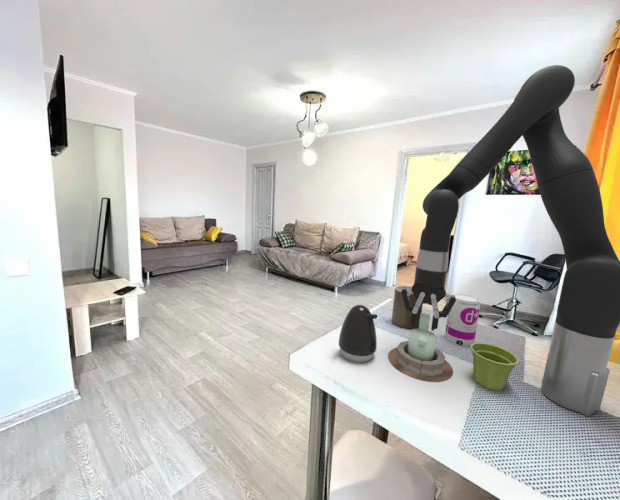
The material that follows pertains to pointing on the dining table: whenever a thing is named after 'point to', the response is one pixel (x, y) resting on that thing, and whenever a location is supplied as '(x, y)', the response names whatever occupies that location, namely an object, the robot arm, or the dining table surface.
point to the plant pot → (492, 365)
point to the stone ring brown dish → (420, 365)
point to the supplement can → (463, 320)
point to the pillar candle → (404, 310)
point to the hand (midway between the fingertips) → (423, 327)
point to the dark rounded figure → (358, 335)
